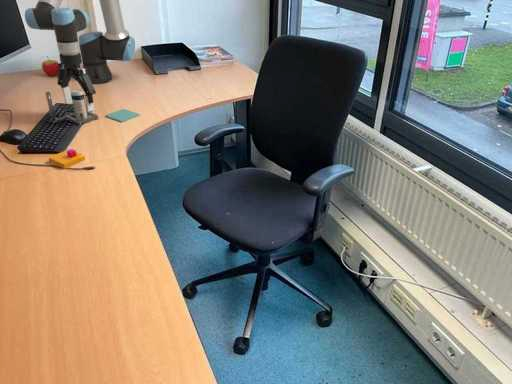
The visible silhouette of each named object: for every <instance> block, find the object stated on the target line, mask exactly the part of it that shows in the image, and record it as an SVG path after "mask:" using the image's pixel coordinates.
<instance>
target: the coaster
mask: <svg viewBox="0 0 512 384" xmlns="http://www.w3.org/2000/svg"><path fill="white" fill-rule="evenodd" d="M139 116H140V117H141V114H140V113H138V112H134V111H132V110H129V109H127V108H126V109H125V108H122V109H119V110H115V111H113V112H111V113H107V114H105V115H104V117H105V118H108V119H111V120H113V121H117V122H120V123H124V122H127V121H129V120H132V119H134V118H137V117H139Z"/></svg>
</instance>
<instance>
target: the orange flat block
mask: <svg viewBox="0 0 512 384" xmlns="http://www.w3.org/2000/svg"><path fill="white" fill-rule="evenodd" d="M85 160H86V158H85V155H84V154H82V153H79V152H77V150H76V149H73V148H71V149H67V150H64V151H61V152H59V153H57V154H55V155H52V156H49V157H48V161H49V163H50V164H52V165H55V166H57V167H59V168H62V169H64V170H65V169H68V168H71V167H72V166H75V165H77V164H79V163H82V162H84V161H85Z"/></svg>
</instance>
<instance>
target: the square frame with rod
mask: <svg viewBox="0 0 512 384" xmlns="http://www.w3.org/2000/svg"><path fill="white" fill-rule="evenodd" d="M45 96H46V101H47V105H48V109H49V114H50V115H49V116H50V119H55V120H57V121H58V120H62V121H64V120H63V119H65V120H66V119H69V121H70V122H73V123H76V124H78V126H83V123H84V124H85V123H87V122H89V121H91V120H92V121H93V120H96V121H97V120H99V115H98V114H96V113H93V112H92V111H90V112H88V111H87V114H88V117H87V118H85V119H82V120H78V119H76V118H75V117H73V116H75V113H74V112H73V113H71V114H68V115H64V116H62V117H57V116H56V113H55V109H54V105H53V100H52V96H51V92H50V91H46V92H45ZM58 118H59V119H58Z"/></svg>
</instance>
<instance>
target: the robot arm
mask: <svg viewBox="0 0 512 384" xmlns="http://www.w3.org/2000/svg"><path fill="white" fill-rule="evenodd" d="M98 1H99V5H100V9H101V13H102V18H103V21H104V27H105V29H106V30H105V33H104V32H103V31H89V32H85V33H81V34H80V35H78V32H82V31H84V30H85V29H86V28H88V26H89V25H90V17H89V14H88V13H87V12H86V11H85V10H83V9H81V8H74V9H72V8H70V7H61V5H62V2H63V0H38V1H37V3H36V5H35V6H34V7H35V8H34V7H28V8H27V9H26V10H25V11H24V19H25V20H24V21H25V23H26V25H27V26H28V27H29V28H30V29H33V30H38V31H39V30H40V31H53V32H54V36H55V41H56V45H57V49H58V53H59V61H60V63H59V62H58V63H59V64H58V65H59V73H58V75H57V85H58V86H60V87H61V89H62V94H63V97H64V103H65V104H66V105H68V104H73V102H72V97H71V92H72V91H71V88H70V85H69V84H70V81H71V80H72V79H74V80H75V81H76V82H78V85H79V86H80V87H81V90H82V92H83V93H84V97H85V103H86V108H87V111H88V112H92V111H95V105H94V97H93V95H96V94H97V91H96V89H95V87H94V85H99V84H100V85H101V84H106V83H109V82H108V81H110V80H111V81H113V79H112V78H113V73H112V72H111V70H110V68H109V65H108V63H107V62H108V61H115V62H118V61H119V62H131V61H132V60H133V58H134V57H135V51H136V41H135V38H134V37H133V36H130V32H129V31H128V30H127V29H125V24H124V19H123V14H122V9H121V4H120V0H98ZM81 64H82V67H81ZM111 81H110V82H111Z"/></svg>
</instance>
